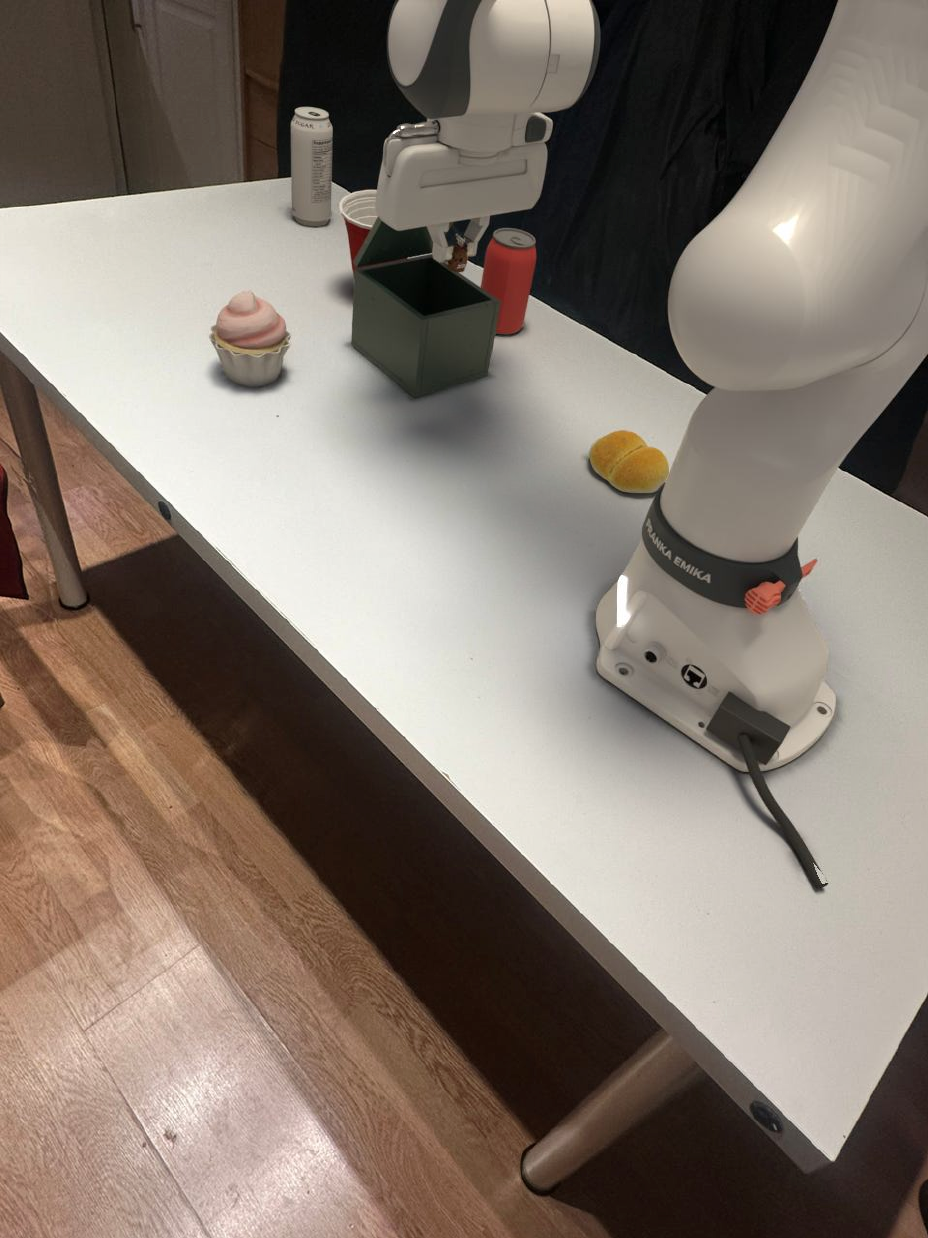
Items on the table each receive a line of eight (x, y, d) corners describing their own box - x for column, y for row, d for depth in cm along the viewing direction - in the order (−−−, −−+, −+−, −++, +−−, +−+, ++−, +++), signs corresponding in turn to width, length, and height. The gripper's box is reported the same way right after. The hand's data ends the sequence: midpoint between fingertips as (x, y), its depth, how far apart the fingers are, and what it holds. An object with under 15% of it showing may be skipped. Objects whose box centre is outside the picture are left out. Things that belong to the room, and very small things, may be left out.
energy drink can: (310, 208, 132) (310, 102, 121) (338, 221, 130) (341, 115, 119) (283, 217, 128) (281, 109, 117) (312, 230, 126) (313, 121, 116)
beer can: (491, 339, 110) (506, 249, 102) (466, 316, 114) (479, 227, 105) (531, 333, 113) (549, 245, 105) (506, 310, 117) (522, 223, 108)
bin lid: (488, 171, 90) (467, 130, 91) (403, 183, 85) (381, 139, 85) (433, 252, 103) (415, 216, 103) (355, 267, 97) (336, 229, 97)
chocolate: (436, 266, 93) (440, 230, 90) (452, 264, 94) (457, 228, 91) (450, 277, 91) (455, 241, 89) (467, 275, 92) (472, 239, 90)
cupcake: (301, 392, 95) (300, 309, 88) (218, 397, 92) (211, 312, 85) (284, 350, 101) (283, 270, 94) (206, 354, 98) (198, 271, 91)
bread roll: (633, 506, 89) (644, 476, 86) (575, 462, 93) (584, 433, 90) (680, 482, 93) (692, 453, 91) (623, 441, 98) (632, 412, 95)
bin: (487, 375, 104) (501, 301, 97) (414, 397, 98) (422, 320, 91) (423, 326, 110) (431, 253, 103) (350, 344, 104) (354, 268, 97)
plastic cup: (321, 297, 112) (323, 205, 103) (359, 269, 119) (363, 181, 111) (393, 321, 110) (400, 229, 101) (426, 292, 117) (436, 204, 109)
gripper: (405, 137, 75) (394, 285, 85) (565, 121, 85) (538, 255, 95) (366, 114, 78) (360, 259, 88) (525, 101, 88) (503, 233, 98)
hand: (454, 257), depth 92 cm, fingers closed on chocolate, 2 cm apart
